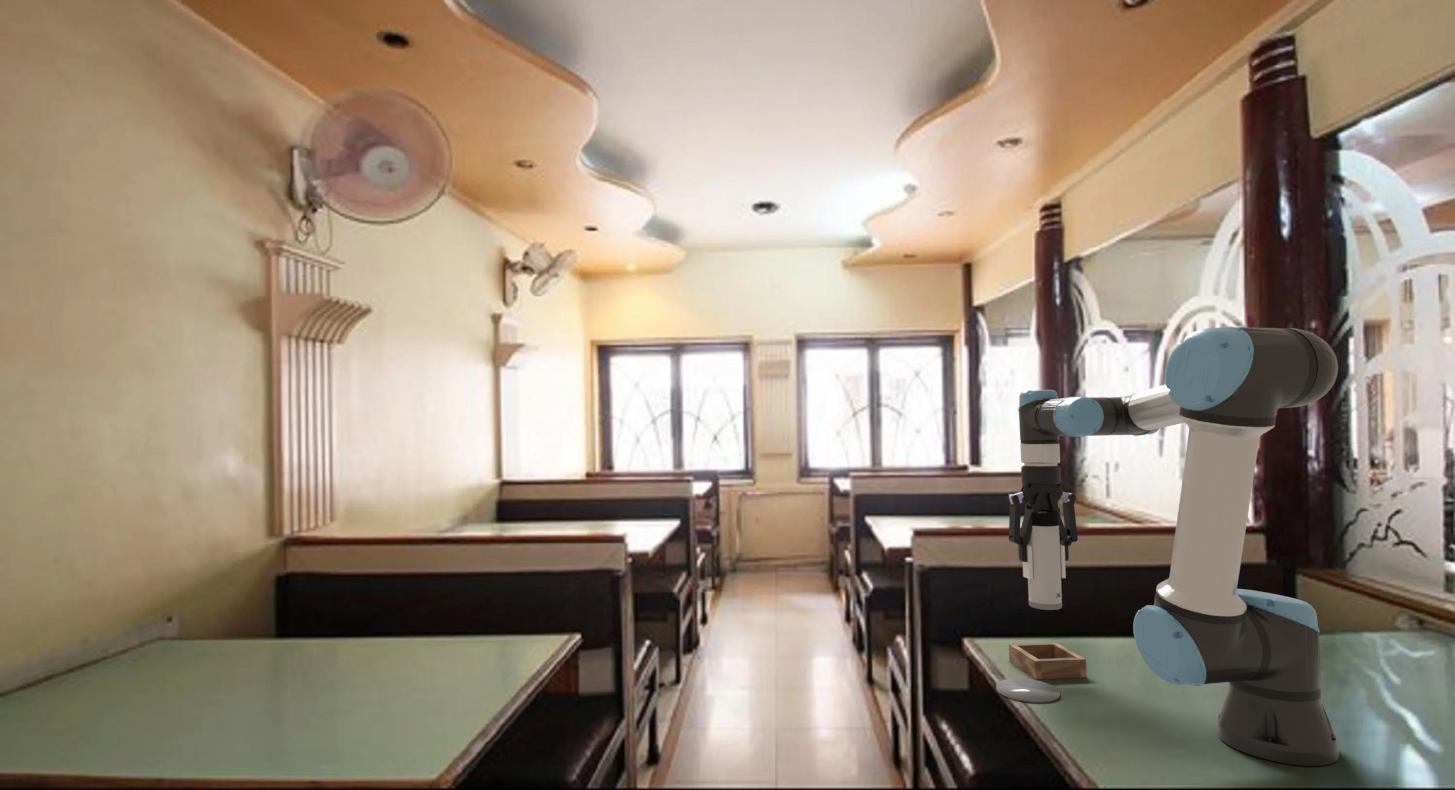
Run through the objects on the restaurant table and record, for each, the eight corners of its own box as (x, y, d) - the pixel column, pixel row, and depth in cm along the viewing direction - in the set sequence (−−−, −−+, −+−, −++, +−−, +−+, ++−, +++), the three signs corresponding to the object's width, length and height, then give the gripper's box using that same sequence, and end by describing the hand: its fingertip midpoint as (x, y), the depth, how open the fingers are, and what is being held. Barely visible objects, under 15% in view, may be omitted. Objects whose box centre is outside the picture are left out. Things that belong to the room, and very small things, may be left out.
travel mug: (1069, 610, 148) (1065, 509, 149) (1036, 610, 149) (1032, 510, 150) (1056, 602, 155) (1052, 506, 156) (1024, 603, 155) (1020, 507, 156)
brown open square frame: (1086, 677, 146) (1086, 659, 146) (1035, 679, 145) (1035, 661, 145) (1056, 659, 157) (1056, 642, 157) (1009, 660, 157) (1008, 644, 157)
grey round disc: (1071, 701, 134) (1071, 698, 134) (1012, 704, 133) (1012, 700, 133) (1041, 680, 144) (1041, 677, 144) (986, 682, 144) (986, 679, 144)
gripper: (1075, 463, 157) (1079, 572, 156) (987, 464, 156) (991, 575, 155) (1095, 464, 150) (1099, 579, 149) (1003, 466, 149) (1007, 582, 147)
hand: (1044, 577), depth 152 cm, fingers closed on travel mug, 6 cm apart
